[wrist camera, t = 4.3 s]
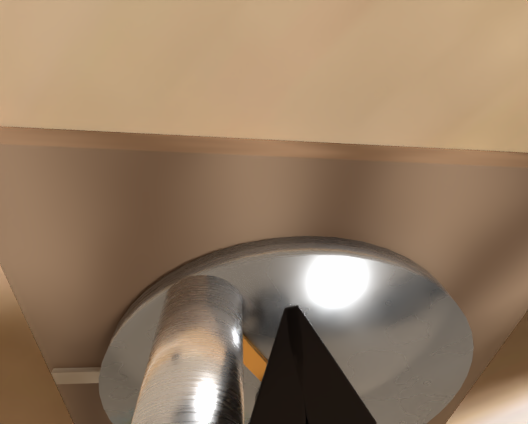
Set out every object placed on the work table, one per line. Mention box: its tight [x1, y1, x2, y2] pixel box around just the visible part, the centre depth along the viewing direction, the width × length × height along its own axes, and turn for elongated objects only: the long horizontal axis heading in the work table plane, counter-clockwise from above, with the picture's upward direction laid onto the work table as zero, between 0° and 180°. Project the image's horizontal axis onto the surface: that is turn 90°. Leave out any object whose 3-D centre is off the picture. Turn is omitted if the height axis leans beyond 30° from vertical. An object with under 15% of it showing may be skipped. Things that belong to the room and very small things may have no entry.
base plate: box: [0, 127, 528, 424], centre depth 15 cm, size 20×20×2 cm
